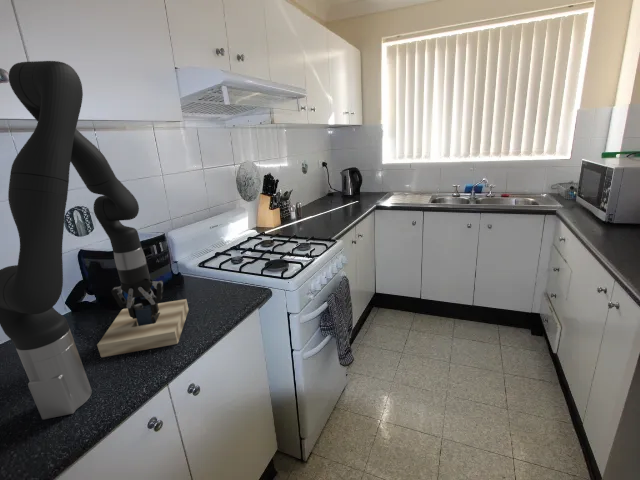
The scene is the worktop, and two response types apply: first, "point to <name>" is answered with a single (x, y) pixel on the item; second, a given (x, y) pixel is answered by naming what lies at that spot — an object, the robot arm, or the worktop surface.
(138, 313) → the vaping device
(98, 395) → the worktop surface
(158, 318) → the socket dock
